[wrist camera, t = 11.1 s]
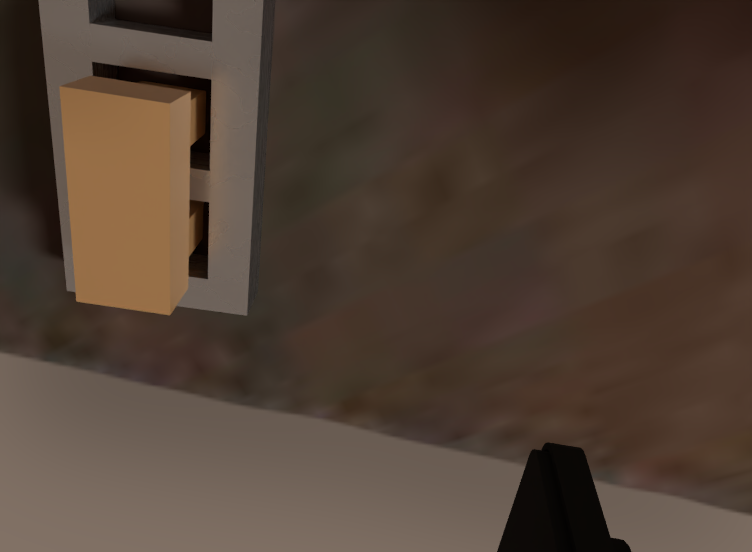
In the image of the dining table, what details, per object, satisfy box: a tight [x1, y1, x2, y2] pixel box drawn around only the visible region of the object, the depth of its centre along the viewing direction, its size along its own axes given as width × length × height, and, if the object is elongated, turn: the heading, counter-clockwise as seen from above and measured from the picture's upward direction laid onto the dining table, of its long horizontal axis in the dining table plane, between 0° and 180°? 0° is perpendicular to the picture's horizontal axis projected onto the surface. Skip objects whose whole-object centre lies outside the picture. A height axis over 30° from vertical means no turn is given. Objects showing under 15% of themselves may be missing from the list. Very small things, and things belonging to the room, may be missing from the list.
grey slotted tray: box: [38, 0, 275, 316], centre depth 27 cm, size 9×24×2 cm, turn 172°
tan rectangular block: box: [59, 76, 206, 315], centre depth 27 cm, size 4×9×6 cm, turn 171°
